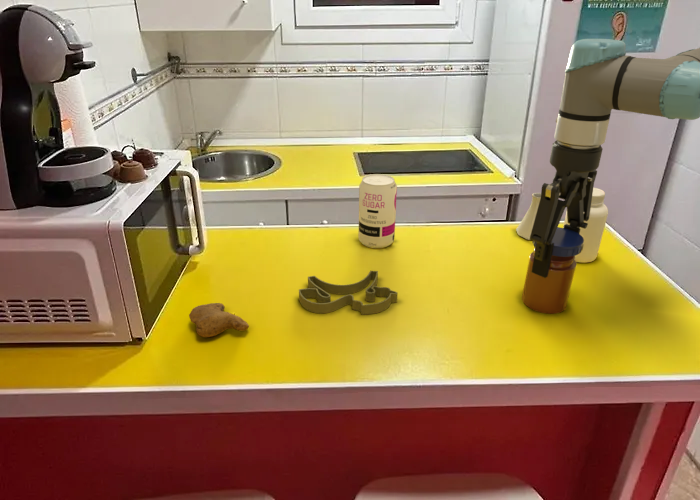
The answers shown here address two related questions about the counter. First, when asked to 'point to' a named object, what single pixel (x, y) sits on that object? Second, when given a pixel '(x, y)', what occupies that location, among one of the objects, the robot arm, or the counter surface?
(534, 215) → the flask
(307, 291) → the cookie cutter
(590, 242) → the pill bottle
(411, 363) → the counter surface
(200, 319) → the brown irregular lump
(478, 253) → the counter surface
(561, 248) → the jam lid
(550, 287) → the jam jar
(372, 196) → the supplement can
